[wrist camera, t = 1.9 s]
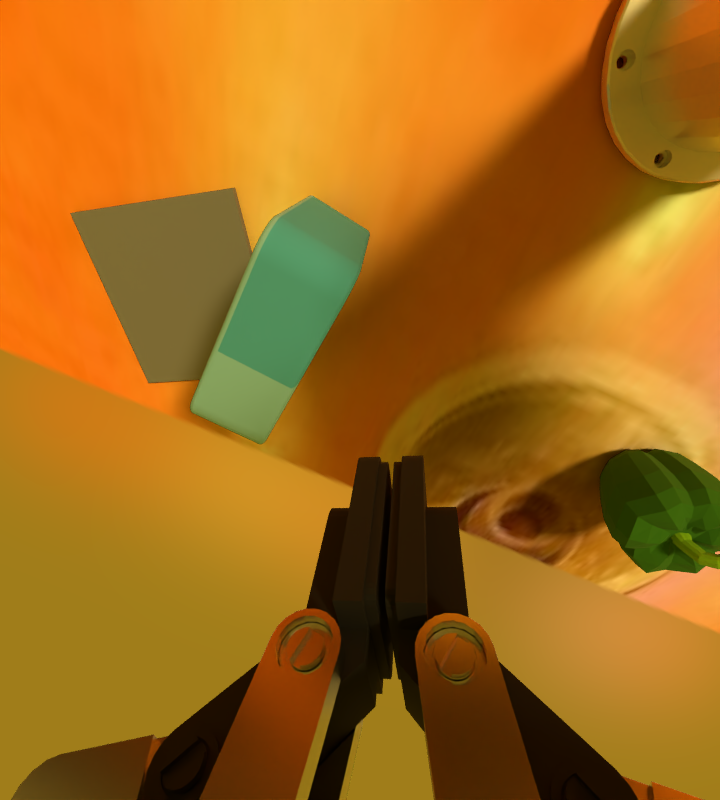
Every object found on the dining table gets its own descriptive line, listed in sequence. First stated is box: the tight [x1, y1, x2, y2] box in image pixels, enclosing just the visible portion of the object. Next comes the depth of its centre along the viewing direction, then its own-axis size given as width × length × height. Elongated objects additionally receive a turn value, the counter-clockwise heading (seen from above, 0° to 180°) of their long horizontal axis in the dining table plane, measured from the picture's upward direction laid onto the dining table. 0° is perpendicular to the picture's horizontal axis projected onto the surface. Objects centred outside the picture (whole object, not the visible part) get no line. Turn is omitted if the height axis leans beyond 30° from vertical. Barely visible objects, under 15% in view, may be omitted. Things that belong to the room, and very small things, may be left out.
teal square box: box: [190, 196, 370, 444], centre depth 25 cm, size 12×4×12 cm, turn 150°
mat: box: [70, 188, 252, 383], centre depth 32 cm, size 12×14×1 cm
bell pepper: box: [600, 449, 720, 573], centre depth 31 cm, size 8×8×10 cm
